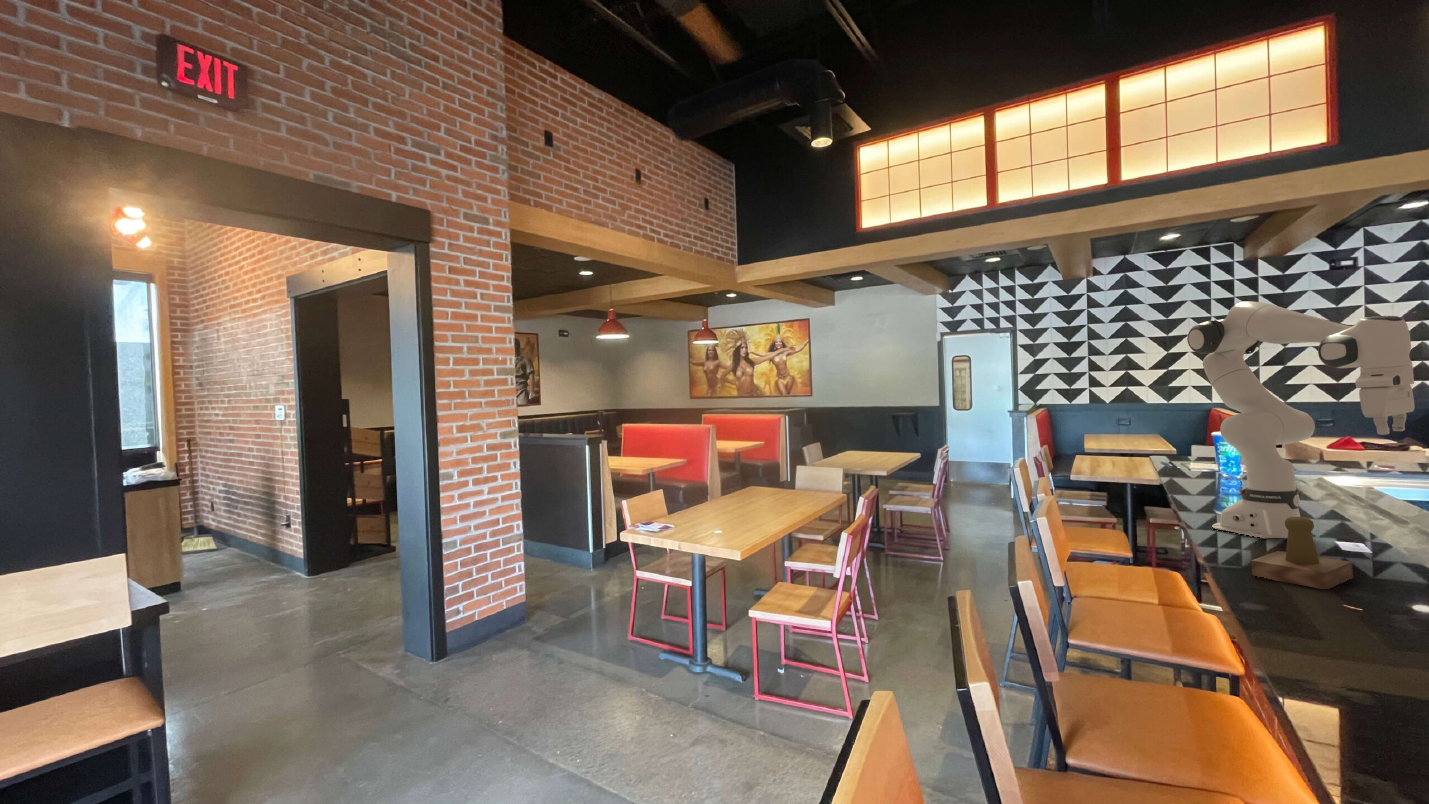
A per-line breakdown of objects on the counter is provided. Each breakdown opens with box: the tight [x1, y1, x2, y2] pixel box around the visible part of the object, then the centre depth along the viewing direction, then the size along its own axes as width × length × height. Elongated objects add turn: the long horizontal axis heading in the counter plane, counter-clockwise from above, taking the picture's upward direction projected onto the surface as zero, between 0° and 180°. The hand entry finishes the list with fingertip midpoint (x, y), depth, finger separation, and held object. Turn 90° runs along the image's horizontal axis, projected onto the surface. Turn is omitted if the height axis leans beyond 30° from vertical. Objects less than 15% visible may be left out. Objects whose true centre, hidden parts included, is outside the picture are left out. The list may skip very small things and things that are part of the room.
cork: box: [1285, 516, 1319, 565], centre depth 147 cm, size 6×6×11 cm
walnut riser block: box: [1250, 550, 1354, 590], centre depth 147 cm, size 14×14×4 cm
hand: (1391, 432), depth 149 cm, fingers open, 8 cm apart
